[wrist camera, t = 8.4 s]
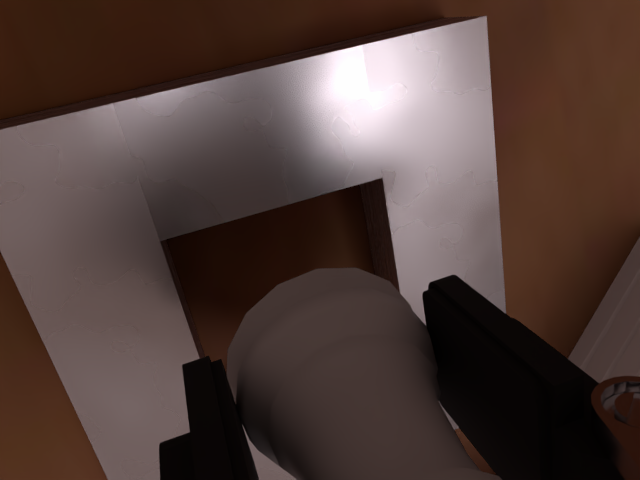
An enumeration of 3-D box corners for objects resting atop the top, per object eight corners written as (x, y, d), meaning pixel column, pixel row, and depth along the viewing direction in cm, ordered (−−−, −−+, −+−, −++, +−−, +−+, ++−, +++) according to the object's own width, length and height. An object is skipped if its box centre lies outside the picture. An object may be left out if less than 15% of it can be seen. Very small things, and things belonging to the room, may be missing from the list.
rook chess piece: (376, 435, 14) (617, 853, 7) (201, 425, 13) (280, 953, 5) (435, 274, 13) (797, 578, 6) (250, 240, 11) (435, 602, 4)
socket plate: (-24, 125, 13) (-51, 142, 11) (445, 17, 15) (486, 15, 13) (141, 498, 18) (141, 551, 16) (478, 373, 20) (512, 407, 18)
